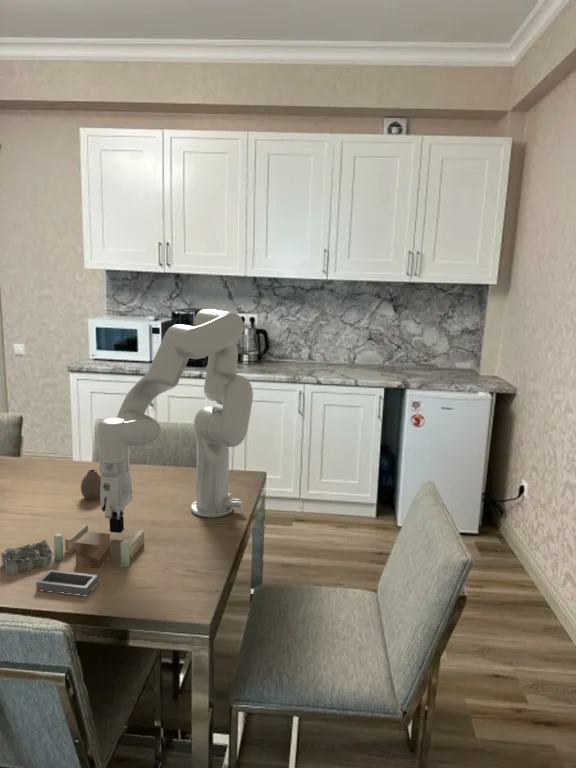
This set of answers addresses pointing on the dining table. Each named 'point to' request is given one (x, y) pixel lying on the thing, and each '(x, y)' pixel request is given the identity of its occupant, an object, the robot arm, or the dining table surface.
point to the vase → (91, 485)
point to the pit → (67, 582)
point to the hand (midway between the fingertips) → (116, 531)
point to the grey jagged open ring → (14, 556)
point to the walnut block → (92, 549)
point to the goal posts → (59, 550)
